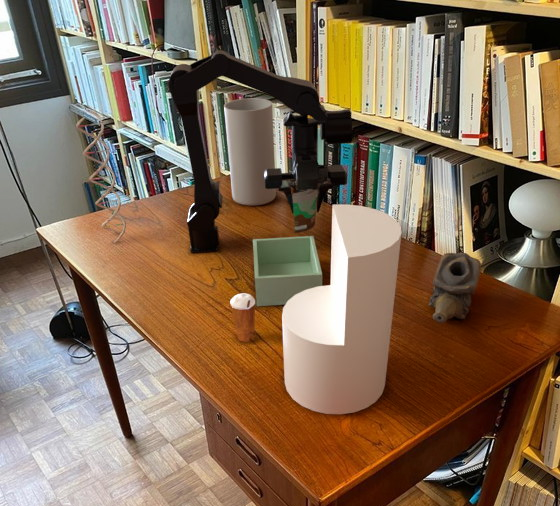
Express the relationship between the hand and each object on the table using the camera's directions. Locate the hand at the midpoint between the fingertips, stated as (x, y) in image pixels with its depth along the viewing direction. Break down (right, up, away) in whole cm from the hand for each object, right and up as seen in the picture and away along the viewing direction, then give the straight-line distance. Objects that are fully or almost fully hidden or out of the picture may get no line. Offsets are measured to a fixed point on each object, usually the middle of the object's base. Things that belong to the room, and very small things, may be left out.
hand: (305, 212), depth 134 cm
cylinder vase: (-13, +12, +27) cm, 32 cm away
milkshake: (-12, -32, -26) cm, 43 cm away
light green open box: (-5, -19, -11) cm, 22 cm away
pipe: (+28, -28, -24) cm, 46 cm away
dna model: (-48, -4, +10) cm, 49 cm away
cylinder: (+3, -40, -37) cm, 55 cm away
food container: (+1, -2, +2) cm, 3 cm away
